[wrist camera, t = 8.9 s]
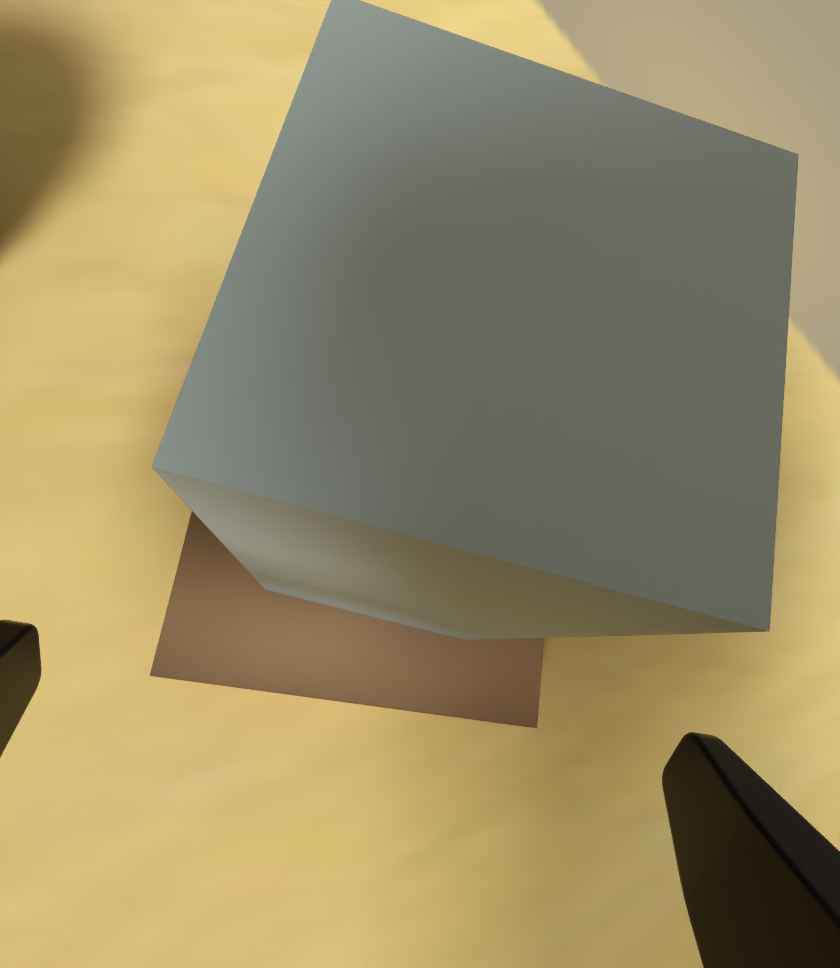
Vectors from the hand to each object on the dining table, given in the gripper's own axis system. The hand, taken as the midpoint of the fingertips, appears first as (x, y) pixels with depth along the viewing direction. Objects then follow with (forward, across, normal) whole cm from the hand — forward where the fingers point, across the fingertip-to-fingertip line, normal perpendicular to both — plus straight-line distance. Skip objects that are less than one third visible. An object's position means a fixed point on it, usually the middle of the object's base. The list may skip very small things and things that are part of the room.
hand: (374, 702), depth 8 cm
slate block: (+9, 0, +2) cm, 9 cm away
